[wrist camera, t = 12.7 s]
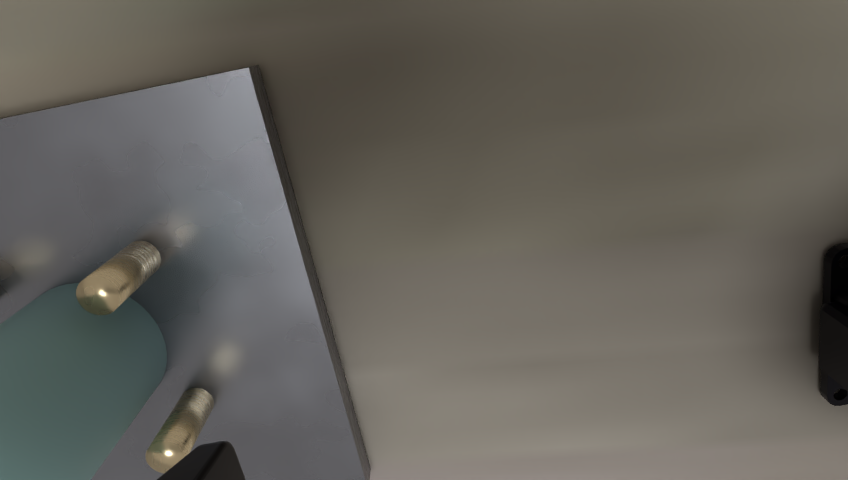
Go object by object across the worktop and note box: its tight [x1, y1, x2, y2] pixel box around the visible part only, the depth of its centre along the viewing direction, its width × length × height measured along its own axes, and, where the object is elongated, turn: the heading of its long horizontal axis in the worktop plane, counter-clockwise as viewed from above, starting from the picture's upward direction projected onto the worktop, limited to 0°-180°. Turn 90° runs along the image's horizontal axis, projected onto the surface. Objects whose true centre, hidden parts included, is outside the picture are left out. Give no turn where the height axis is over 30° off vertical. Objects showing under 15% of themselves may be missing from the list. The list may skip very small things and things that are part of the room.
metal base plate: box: [0, 65, 371, 480], centre depth 20 cm, size 16×16×4 cm
